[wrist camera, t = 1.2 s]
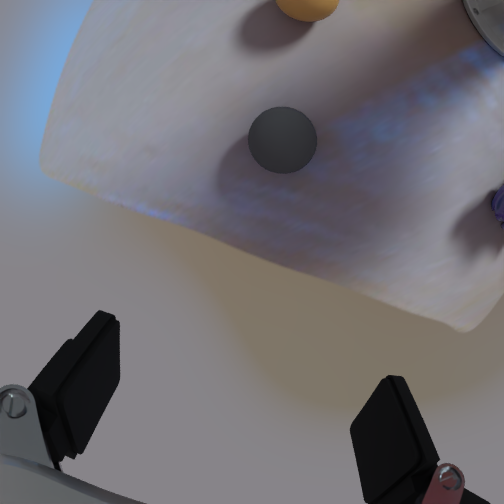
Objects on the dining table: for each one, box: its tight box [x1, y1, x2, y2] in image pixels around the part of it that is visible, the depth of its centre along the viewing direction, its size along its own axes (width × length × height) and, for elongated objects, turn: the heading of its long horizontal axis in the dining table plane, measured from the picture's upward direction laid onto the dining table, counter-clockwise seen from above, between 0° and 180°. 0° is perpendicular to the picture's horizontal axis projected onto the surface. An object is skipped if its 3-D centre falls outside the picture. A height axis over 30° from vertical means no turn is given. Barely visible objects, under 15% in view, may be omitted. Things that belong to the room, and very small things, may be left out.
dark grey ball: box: [248, 107, 317, 173], centre depth 24 cm, size 6×6×6 cm
